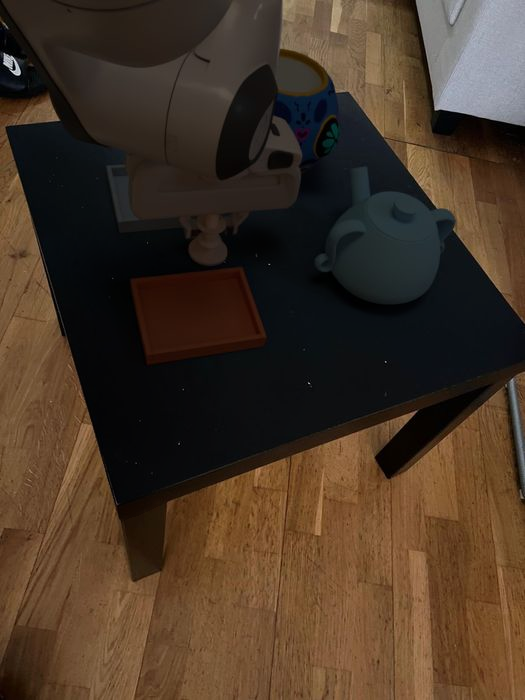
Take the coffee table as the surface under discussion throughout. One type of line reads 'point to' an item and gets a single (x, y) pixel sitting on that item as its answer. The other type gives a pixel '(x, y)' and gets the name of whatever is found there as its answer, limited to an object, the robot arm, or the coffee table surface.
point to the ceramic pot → (307, 105)
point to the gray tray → (123, 211)
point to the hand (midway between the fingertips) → (210, 232)
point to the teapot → (385, 244)
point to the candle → (209, 241)
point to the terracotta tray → (196, 314)
